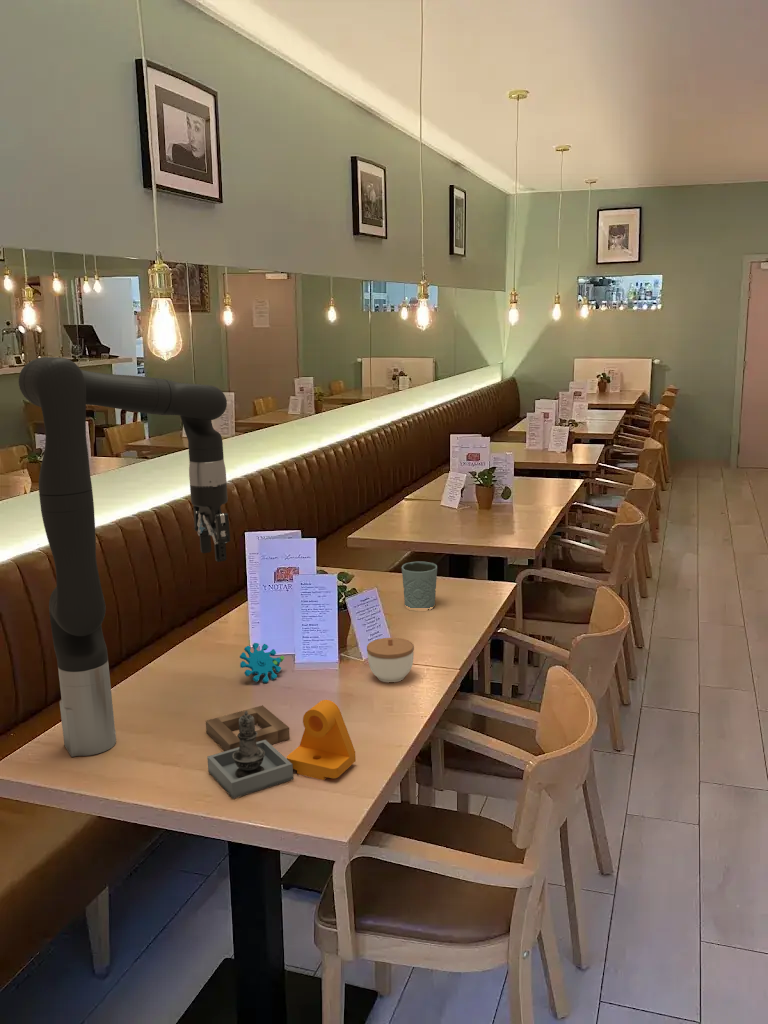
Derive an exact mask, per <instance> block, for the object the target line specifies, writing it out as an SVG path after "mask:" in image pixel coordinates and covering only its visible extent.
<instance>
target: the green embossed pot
mask: <svg viewBox="0 0 768 1024" xmlns="http://www.w3.org/2000/svg"><path fill="white" fill-rule="evenodd" d="M401 574H402V575H401V576H402V585H403V586H402V587H403V597H404V598H403V599H404V606H405V605H406V606H408V607H410V608H430V607H433V606H434V605H436V595H437V594H436V592H437V591H436V589H437V577H438V576H437V575H438V565H437V564H436V563H434V562H428V561H411V562H405V563H403V564H402V565H401Z"/></svg>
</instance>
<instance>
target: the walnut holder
mask: <svg viewBox="0 0 768 1024" xmlns="http://www.w3.org/2000/svg"><path fill="white" fill-rule="evenodd" d="M245 711H247V712H248V715H251V716H253V717H254V721H255V725H258V726H259V727H260V728H261V729H256V730H255V731H256V732H257V736H256V742H259V741H262V740H266V741H267V742H269V743H270V744H271V745H272V746H273V745H275V744H277V743H280V742H285V741H288V740H290V739H291V736H290V734H291V733H290V727H289V725H287V724H286V723H284V722H283V721H282V720H281V719H280V718H279V717H277V716H276V715H275V714H274V713H273V712H271V711H270V710H269V709H268V708H267V707H266V706H264V705H263V704H262V705H259V706H255V707H251V708H248V709H244V710H240V711H237V712H233V713H229V714H225V715H223V716H222V715H221V716H218V717H215V718H210V719H207V720H205V731H206V734H207V735H208V736H210V738H211V739H212V740H213V741H214V742H215V743H216V742H217V743H218V744H219V745H220V746H221V747H222V748H223V749H224V750H223V749H222V748H221V747H220V746H219V745H218V744H217V743H216V744H217V745H218V746H219V747H220V748H221V749H222V750H223V752H224V751H228V750H231V749H235V748H238V747H240V740H239V738H238V735H236V734H235V733H234V731H237V730H239V719H240V717H241V716H243V715H245V714H244V713H245ZM233 730H234V731H233Z"/></svg>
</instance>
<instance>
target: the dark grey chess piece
mask: <svg viewBox="0 0 768 1024" xmlns="http://www.w3.org/2000/svg"><path fill="white" fill-rule="evenodd" d="M244 714H245V715H243V716H241V717H240V719H239V729H238V734H237V736H238V738H239V740H240V748H239V749H238V750H236V751H235V752H234V753H233V755H232V757H233V759H234V761H235V763H236V765H237V767H239V768H238V769H237V770H236V772H235V775H236V776H237V777H238V778H242V777H245V776H248V775H251V774H255V773H258V772H261V771H264V768H263V767H262V766H260V765H261V764H262V762H263V758H264V755H265V751H264V750H263V749H262V748H259V747H257V744H256V736H257V732H256V731H257V730H256V724H255V721H254V717H253V716H251V715H248V712H247V711H245V713H244Z"/></svg>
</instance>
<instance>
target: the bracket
mask: <svg viewBox="0 0 768 1024" xmlns="http://www.w3.org/2000/svg"><path fill="white" fill-rule="evenodd" d="M343 717H344V716H343V715H342V712H341V709H340V708H339V706H338V705H337V703H335V702H334V701H332V700H329V699H322V700H320V701H318V702H317V703H316V704H315V705H313V706H312V707H311V708H309V709H308V710H307V711H305V713H304V714H303V717H302V724H303V727H304V730H303V733H302V737H301V740H300V742H299V746H298V747H296V748H295V749H294V750H292V751H291V752H290V753H288V754H287V755H286V759H287V760H288V761H290V762H291V763H292V765H293V770H295V771H296V774H297V775H300V776H305V777H309V778H311V779H317V780H321V781H324V780H326V779H327V778H330V779H337V778H339V777H341V775H342V774H343V773H345V772H346V771H347V770H348V769H349V768H350V767H351V766H353V764H354V763H355V762H356V760H357V759H356V751H355V747H354V745H353V741H352V740H351V737H350V734H349V731H348V728H347V726H346V723H345V720H344V718H343Z"/></svg>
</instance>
